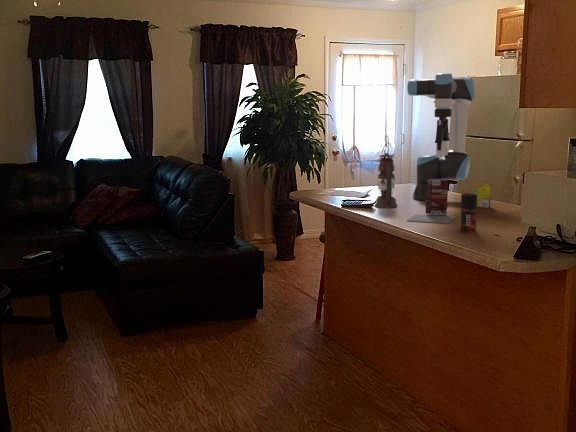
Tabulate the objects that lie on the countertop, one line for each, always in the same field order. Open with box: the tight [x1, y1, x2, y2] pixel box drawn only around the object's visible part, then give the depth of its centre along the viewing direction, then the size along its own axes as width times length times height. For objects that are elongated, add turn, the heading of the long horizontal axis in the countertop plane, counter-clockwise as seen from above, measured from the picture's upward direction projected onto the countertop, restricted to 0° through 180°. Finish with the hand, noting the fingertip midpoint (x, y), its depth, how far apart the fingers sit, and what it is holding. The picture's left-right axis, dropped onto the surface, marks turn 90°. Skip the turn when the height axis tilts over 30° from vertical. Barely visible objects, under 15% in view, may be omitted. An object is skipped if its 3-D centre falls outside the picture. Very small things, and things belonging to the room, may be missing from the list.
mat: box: [406, 213, 456, 225], centre depth 274 cm, size 15×18×1 cm
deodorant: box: [459, 193, 478, 234], centre depth 246 cm, size 6×6×15 cm
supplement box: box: [425, 179, 449, 216], centre depth 282 cm, size 9×5×16 cm, turn 105°
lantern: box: [374, 135, 398, 209], centre depth 306 cm, size 11×16×35 cm
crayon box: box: [473, 182, 492, 209], centre depth 302 cm, size 7×3×12 cm, turn 57°
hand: (441, 156), depth 288 cm, fingers open, 11 cm apart
